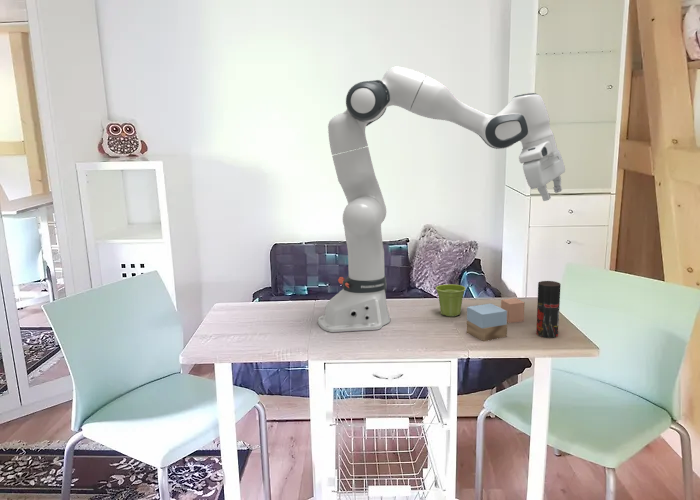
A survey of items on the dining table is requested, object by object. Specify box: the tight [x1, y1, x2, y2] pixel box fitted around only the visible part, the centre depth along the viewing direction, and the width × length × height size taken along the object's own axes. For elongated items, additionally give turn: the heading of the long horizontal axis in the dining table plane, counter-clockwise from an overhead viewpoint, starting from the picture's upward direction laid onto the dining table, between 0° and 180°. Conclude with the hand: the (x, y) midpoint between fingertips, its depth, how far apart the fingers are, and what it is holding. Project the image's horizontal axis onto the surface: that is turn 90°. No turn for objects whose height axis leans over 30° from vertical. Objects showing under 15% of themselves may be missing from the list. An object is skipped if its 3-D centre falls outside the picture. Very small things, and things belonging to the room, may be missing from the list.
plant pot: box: [435, 283, 467, 317], centre depth 187 cm, size 9×9×9 cm
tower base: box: [466, 320, 508, 342], centre depth 168 cm, size 8×8×4 cm
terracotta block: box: [500, 297, 525, 324], centre depth 180 cm, size 5×5×6 cm
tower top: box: [466, 303, 508, 328], centre depth 167 cm, size 8×8×4 cm
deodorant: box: [535, 280, 561, 339], centre depth 166 cm, size 6×6×15 cm
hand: (553, 196), depth 168 cm, fingers open, 8 cm apart
